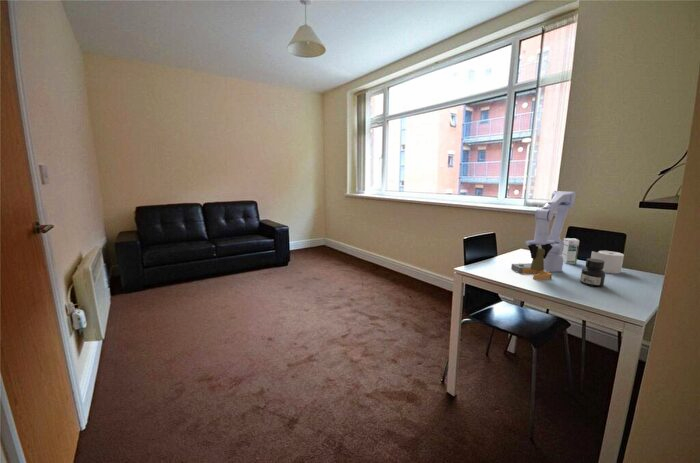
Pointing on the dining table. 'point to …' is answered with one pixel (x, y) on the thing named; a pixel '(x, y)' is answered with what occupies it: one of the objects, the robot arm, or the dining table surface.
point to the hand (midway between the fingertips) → (538, 258)
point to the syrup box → (570, 250)
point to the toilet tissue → (609, 260)
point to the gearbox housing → (531, 271)
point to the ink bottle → (593, 273)
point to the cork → (538, 260)
